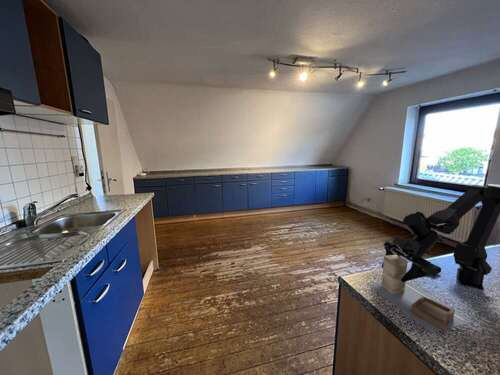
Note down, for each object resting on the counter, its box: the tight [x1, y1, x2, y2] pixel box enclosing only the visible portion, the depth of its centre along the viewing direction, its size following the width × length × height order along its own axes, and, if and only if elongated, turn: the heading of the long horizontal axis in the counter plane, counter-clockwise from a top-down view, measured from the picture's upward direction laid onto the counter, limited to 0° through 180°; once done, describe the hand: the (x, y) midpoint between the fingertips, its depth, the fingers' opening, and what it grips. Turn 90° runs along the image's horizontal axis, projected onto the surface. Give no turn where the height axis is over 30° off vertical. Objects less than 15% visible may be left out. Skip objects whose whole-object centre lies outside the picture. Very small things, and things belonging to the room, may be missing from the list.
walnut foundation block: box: [411, 296, 455, 331], centre depth 68 cm, size 8×8×3 cm
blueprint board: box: [367, 281, 475, 334], centre depth 75 cm, size 16×24×1 cm, turn 14°
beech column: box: [381, 255, 409, 294], centre depth 81 cm, size 5×5×12 cm
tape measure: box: [432, 263, 442, 275], centre depth 94 cm, size 7×7×4 cm
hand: (391, 274), depth 81 cm, fingers open, 9 cm apart
